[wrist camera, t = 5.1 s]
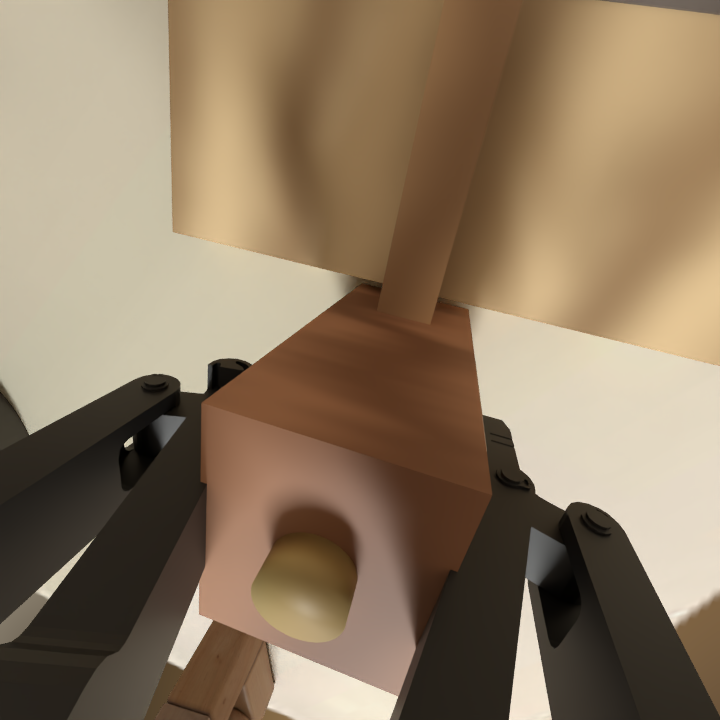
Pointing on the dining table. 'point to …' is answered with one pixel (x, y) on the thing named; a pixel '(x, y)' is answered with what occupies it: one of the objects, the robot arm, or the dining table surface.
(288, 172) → the board
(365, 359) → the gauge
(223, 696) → the wooden post assembly
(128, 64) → the dining table surface
